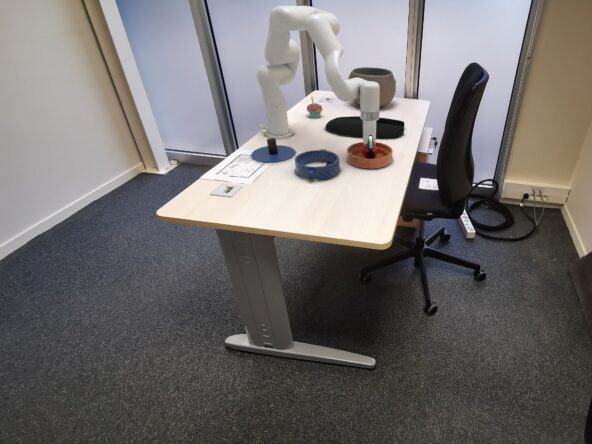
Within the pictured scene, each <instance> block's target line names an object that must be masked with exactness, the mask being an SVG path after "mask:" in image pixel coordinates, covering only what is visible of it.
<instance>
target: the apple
mask: <svg viewBox="0 0 592 444" xmlns="http://www.w3.org/2000/svg"><path fill="white" fill-rule="evenodd" d="M368 144H369V143H368ZM372 144H373V143H372ZM368 147H369V145H368ZM362 154H363V156H364V157H365V158H367V144H365V145H364V146H363V148H362ZM377 154H378V148H377V146H376V145H374V158H375V157H376V156H377Z"/></svg>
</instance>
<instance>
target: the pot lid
mask: <svg viewBox="0 0 592 444" xmlns="http://www.w3.org/2000/svg"><path fill="white" fill-rule="evenodd" d="M266 144H267V145H266V146H265V145H264V146H261V147H258V148H256V149H255V150H253V151H251V155H250V156H251V159H252V160H254V161H256V162H259V163H264V164H274V163H275V164H276V163H281V162H287V161H288V160H290V159H292V158H294V157H295V156H296V150H295V149H294V148H293V147H291V146H288V145H281V144H277V138H272V137H268V138H267V139H266Z"/></svg>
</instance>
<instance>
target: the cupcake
mask: <svg viewBox="0 0 592 444" xmlns="http://www.w3.org/2000/svg"><path fill="white" fill-rule="evenodd" d="M310 98H311V103H309V104H308V105H307V106H306V111H307V112H308V114H309V116H310V117H311V118H312V119H318V118H321V117H320V116H321V113H322V111H323V106H322V105H321V104H320V103H315V102H314V96H311V97H310Z"/></svg>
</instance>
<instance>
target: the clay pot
mask: <svg viewBox="0 0 592 444" xmlns="http://www.w3.org/2000/svg"><path fill="white" fill-rule="evenodd" d="M352 78H362V79H364V80H366V81H373V82H377V83H378V84H379V86H380V100H379V108H383V107H385V106H387V105H388V104H391V102H392V101H393V99H394V97H395V95H396V91H397V85H396V84H397V80H396V78H395V76H394V73H393V71H392V70H390V69H387V68H382V67H371V66H370V67H368V66H364V67H363V66H362V67H356V68H353V69H352V70H351V71H350V73H349V75H348V78H347V80H348V79H352ZM352 101H353V102H354V103H355V104H357V105H359V106H360V98H357V99H354V100H352Z"/></svg>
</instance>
